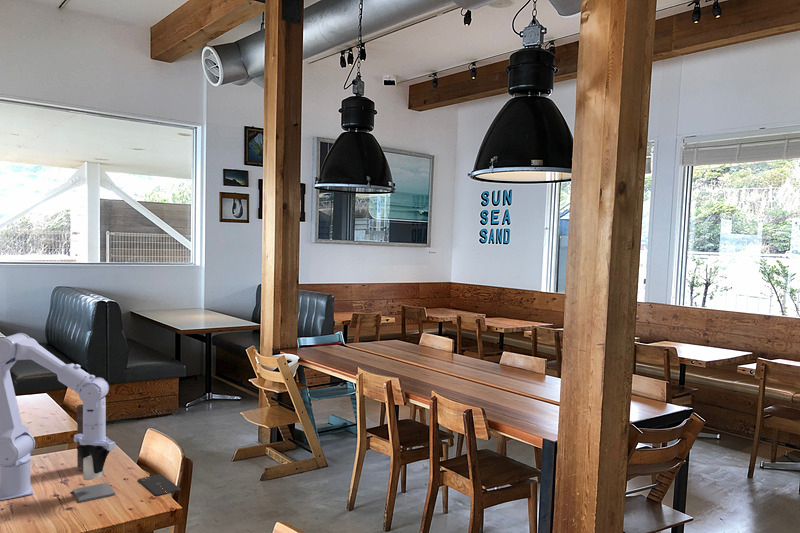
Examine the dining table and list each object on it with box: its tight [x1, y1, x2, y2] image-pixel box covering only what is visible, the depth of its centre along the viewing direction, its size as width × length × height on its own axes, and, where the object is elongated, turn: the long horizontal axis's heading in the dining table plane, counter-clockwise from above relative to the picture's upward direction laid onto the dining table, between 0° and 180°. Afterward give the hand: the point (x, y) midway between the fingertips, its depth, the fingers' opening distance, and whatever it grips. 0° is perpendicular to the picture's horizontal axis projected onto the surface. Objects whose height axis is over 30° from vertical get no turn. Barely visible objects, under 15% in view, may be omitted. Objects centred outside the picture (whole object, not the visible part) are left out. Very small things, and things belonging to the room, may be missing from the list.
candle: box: [76, 403, 83, 472], centre depth 193 cm, size 8×7×20 cm
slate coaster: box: [72, 482, 116, 503], centre depth 175 cm, size 9×9×1 cm
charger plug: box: [82, 456, 105, 481], centre depth 175 cm, size 3×6×7 cm, turn 154°
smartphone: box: [137, 473, 181, 497], centre depth 182 cm, size 7×1×15 cm
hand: (94, 470), depth 175 cm, fingers closed on charger plug, 3 cm apart
